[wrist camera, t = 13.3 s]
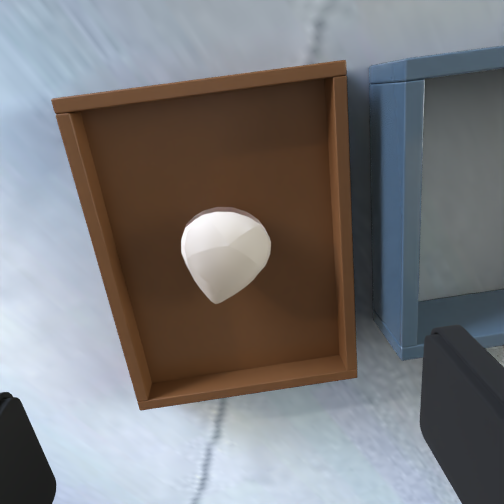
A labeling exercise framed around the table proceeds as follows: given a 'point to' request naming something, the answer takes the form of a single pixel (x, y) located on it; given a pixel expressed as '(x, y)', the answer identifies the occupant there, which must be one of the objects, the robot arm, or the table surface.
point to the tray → (221, 195)
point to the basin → (415, 206)
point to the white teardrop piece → (224, 250)
